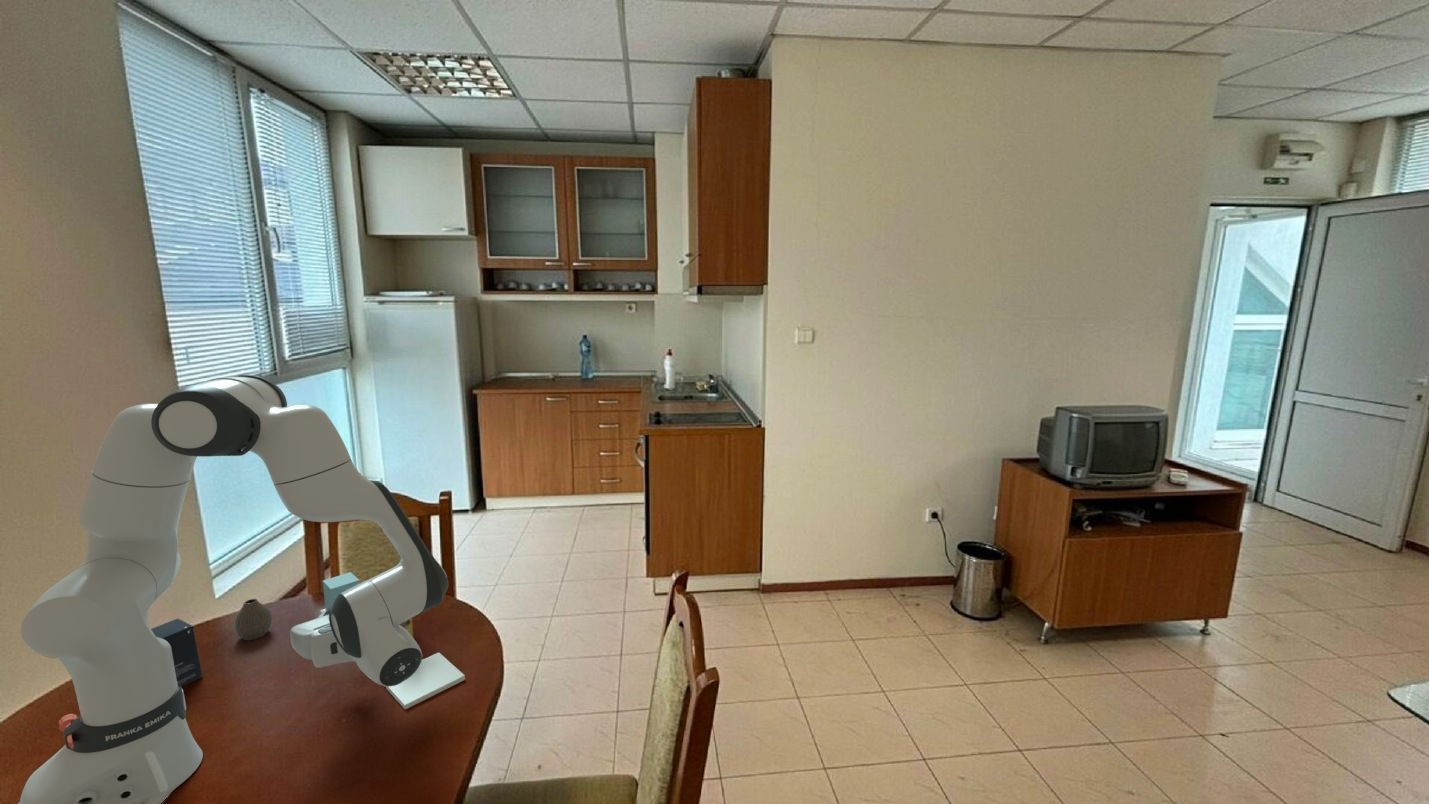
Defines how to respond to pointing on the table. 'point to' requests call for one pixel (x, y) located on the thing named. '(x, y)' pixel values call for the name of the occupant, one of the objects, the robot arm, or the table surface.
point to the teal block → (337, 587)
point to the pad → (426, 681)
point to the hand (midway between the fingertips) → (342, 606)
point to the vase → (252, 620)
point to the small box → (181, 649)
